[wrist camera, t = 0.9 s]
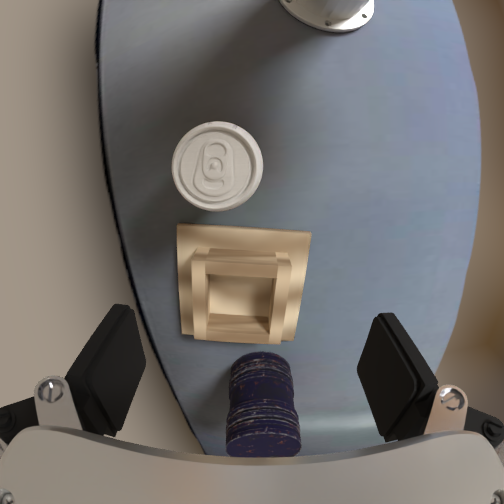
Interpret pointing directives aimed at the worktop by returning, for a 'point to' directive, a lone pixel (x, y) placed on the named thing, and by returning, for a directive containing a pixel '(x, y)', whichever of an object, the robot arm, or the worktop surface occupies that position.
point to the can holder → (240, 282)
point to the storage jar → (262, 408)
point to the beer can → (217, 166)
